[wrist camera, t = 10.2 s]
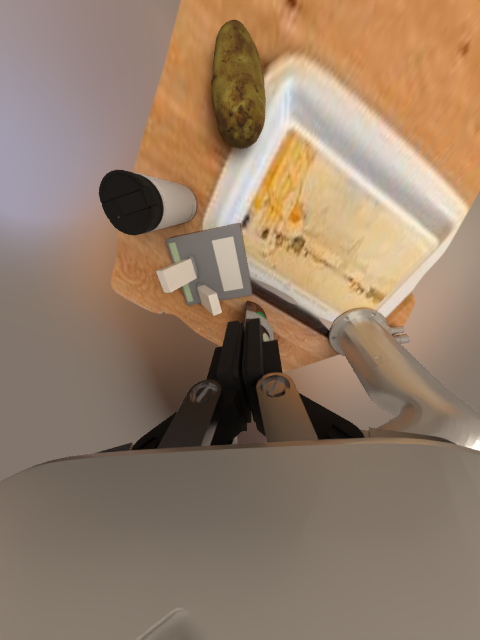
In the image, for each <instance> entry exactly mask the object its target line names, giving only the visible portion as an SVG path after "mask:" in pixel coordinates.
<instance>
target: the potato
mask: <svg viewBox="0 0 480 640" xmlns="http://www.w3.org/2000/svg"><path fill="white" fill-rule="evenodd" d="M211 84H212V102H213V107H214V111H215V115H216V119H217V125H218V129H219V132H220V134H221V136H222V137H223V139H224V140H225V141H226V142H227V143H228V144H229V145H231V146H232V147H235V148H247V147H249V146H251V145H252V144H253V143H255V142H256V141H257V139H258V137H259V135H260V133H261V131H262V129H263V126H264V121H265V90H264V77H263V72H262V66H261V61H260V57H259V54H258V51H257V49H256V46H255V44H254V42H253V40H252V38H251V36H250V34H249V33H248V31H247V29H246V28H245V27H244V25H243V24H242V23H241V22H239V21H237V20H231V21H228V22H226V23H225V24H224V25H223V26H222V27H221V29H220V31H219V33H218V35H217V38H216V45H215V53H214V63H213V77H212V82H211Z"/></svg>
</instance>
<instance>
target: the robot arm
mask: <svg viewBox="0 0 480 640" xmlns="http://www.w3.org/2000/svg"><path fill="white" fill-rule="evenodd" d="M403 332H404V327H403V326H398V327H393V328H391V327H389V326H388V323H387V320H386V319H385V317H384V316H383V315H382V314H380V313H379V312H377V311H375V310H373V309H369V308H358V309H353V310H350V311H348V312H346V313H344V314H342V315H341V316H339V317H338V318H337V319H336V320H335V321H334V323H333V324H332V326H331V328H330V331H329V342H330V344H331V346H332V347H333V349H334V350H335V351H336V352H338V353H339V354H341V355H344V356H346V358H347V360H348V361H349V363H350V365H351V367H352V368H353V370H354V372H355V373H356V375H357V377H358V379H359V380H360V382H361V384H362V385H363V387H364V389H365V391H366V392H367V394H368V396H369V397H370V398H371V400H372V401H373V402H374V403H375V404H376V405H377V406H379V407H380V408H381V409H383V410H385V411H387V412H388V413H391V414H393V415H396V416H397V417H395V418H393V419H392V420H390V421H389V422H387V423H385V424H384V425H382V426H380V427H378V428H370V427H369V430H368V431H366V430H360V429H359V428H358V427H356V426H355V425H354V424H352V423H351V422H349V421H347V420H346V419H344V418H342V417H340V416H339V415H337V414H335V413H333V412H331V411H330V410H328V409H326V408H324V407H323V406H321V405H319V404H317V403H316V402H314V401H312V400H310V399H309V398H307V397H305V396H303V395H302V394H300V393H298V391H297V389H296V386H295V384H294V382H293V380H292V379H291V378H290V377H289V376H288V375H286V374H283V373H282V367H281V361H280V354H279V348H278V341H277V340H272V341H264V339H263V334H262V328H261V322H260V318H254V319H249V322H246V324H245V329H244V325H243V323H239V321H233V322H228V325H227V329H226V333H225V338H224V342H223V346H222V347H217V348H215V351H214V355H213V358H212V362H211V366H210V369H209V373H208V376H207V380H203V381H200V382H198V383H196V384H194V385H193V386H192V387H191V388H190V389H189V391H188V392H187V394H186V396H185V398H184V399H183V401H182V403H181V405H180V407H179V409H178V411H177V412H176V413H174V414H173V415H172V416H170V417H169V418H167V419H166V420H165V421H163V422H162V423H161V424H159V425H158V426H157V427H155V428H154V429H152V430H151V431H150V432H148V433H147V434H146V435H144V436H143V437H142V438H140V439H139V440H138V441H137V442H136V443H135V445H133V443H128V444H125V445H121V446H118V447H114V448H111V449H107V450H104V451H101V452H97V453H93V454H85V455H77V456H69V457H65V458H60V459H55V460H51V461H47V462H44V463H41V464H37V465H35V466H32V467H30V468H27V469H25V470H23V471H20V472H18V473H16V474H14V475H12V476H10V477H8V478H6V479H4V480H2V481H1V482H0V640H480V413H479V412H478V411H477V410H476V409H474V408H473V407H471V406H470V405H469V404H467V403H466V402H465V401H463V400H462V399H460V398H459V397H458V396H456V395H455V394H454V393H453V392H452V391H450V390H449V389H448V388H446V387H445V386H444V385H443V384H442V383H441V382H440V381H439V380H438V379H437V378H435V377H434V376H433V375H432V374H431V373H430V372H429V371H428V370H427V369H426V368H425V367H424V366H423V365H422V364H421V363H419V361H418V360H417V359H416V358H415V357H413V356H412V355H411V354H410V353H409V352H408V351H407V350H406V349H405V348H404V347H403V346H402V345H401V344H402V343H408V342H409V341H410V339H409V336H408V335H407V334H402V335H396V336H392V334H393V333H403ZM251 411H252V415H253V419H254V422H256V426H257V429H258V430H259V431H260V432H261V433H262V434H263V435H264V436H265V437H266V439H267V442H266V443H248V444H237V435H238V434H239V433H240V432H241V431H247V423H250V422H251Z"/></svg>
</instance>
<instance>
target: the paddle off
mask: <svg viewBox="0 0 480 640" xmlns="http://www.w3.org/2000/svg"><path fill="white" fill-rule="evenodd" d="M197 289H198V293H199V296H200V299H201V303H202V305H203V306H204V307H205V308H206V309H207V310H208V311H209V312H210V313H211V314H212V315H213V316H214V315H217V314H220V313H222V311H221V308H220V304H219V300H218V296H217V293H216V292H215V291H213V290H212V289H210V288H209V287H207V286H206V285H202V284H201V283H197Z"/></svg>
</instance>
